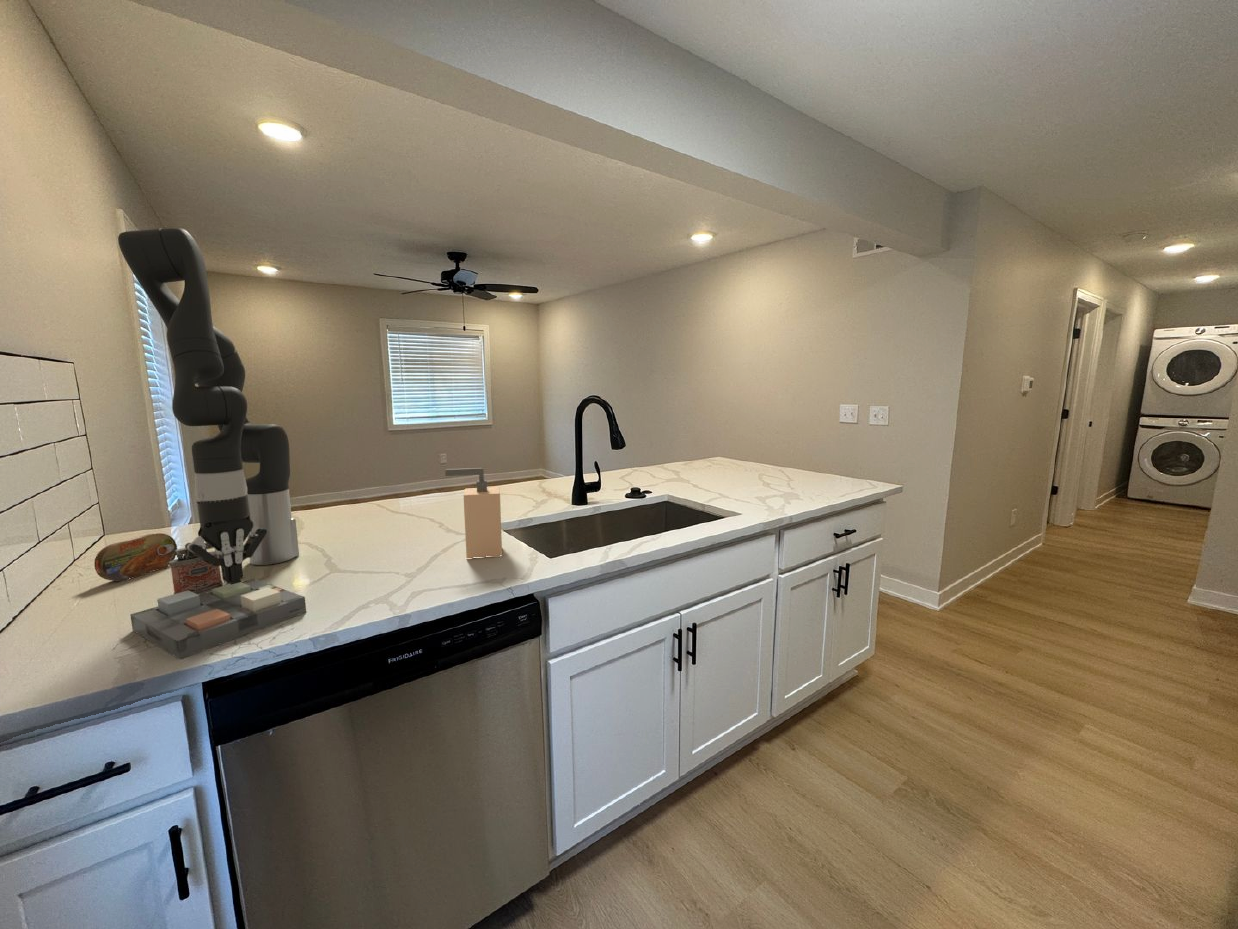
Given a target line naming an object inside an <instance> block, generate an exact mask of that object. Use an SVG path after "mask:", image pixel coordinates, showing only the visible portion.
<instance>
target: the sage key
mask: <svg viewBox="0 0 1238 929" xmlns="http://www.w3.org/2000/svg"><path fill="white" fill-rule="evenodd" d="M242 582H243V581H241V582H239V583H236V584H232V585H231V584H228V583H227V584H226V585H223V586H221V587H218V588H215V589H212V591H213V595H214V596H216V597H219V598H221V599H225V598H228V597H231V596H235V595H238V594H241V593H244V592H248V591H251V588H250V586H249V585H247V584H244V583H242Z"/></svg>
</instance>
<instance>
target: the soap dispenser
mask: <svg viewBox="0 0 1238 929" xmlns="http://www.w3.org/2000/svg"><path fill="white" fill-rule="evenodd" d="M444 472H445V477H454V476H455V477H456V476H458V477H459V476H477V475H478V479H477V480H476V482H475V483H476V487H475V488H474V487H470V488H469V487H468V488H464V492H463V509H464V512H463V514H464V515H463V516H464V535H465V537H464V538H465V555H466V558H473V557H486V556H500V555H502V556H503V542H502V539H503V538H502V537H503V536H502V516H501V514H502V511H501V510H502V509H501V491H500V487H499V486H493V487H488V482H487V481H488V480H487V479H485V478H484V476H485V473H484V467H474V468H473V467H470V468H446V469H445V471H444Z"/></svg>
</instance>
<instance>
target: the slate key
mask: <svg viewBox="0 0 1238 929" xmlns="http://www.w3.org/2000/svg"><path fill="white" fill-rule="evenodd" d="M156 601H157V605H158V607H159V612H161V613H163V614H164V615H166V616H169V615H173V614H176V613H179V612H182V611H186V610H189V609H192V608H196V607H199V606H201V605H200V598H199V594H195V593H193V592H191V591H189V590H187V591H184V592H180V593H177V594H171V595H166V596H163V597H159V598H157V600H156Z"/></svg>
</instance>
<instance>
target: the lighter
mask: <svg viewBox="0 0 1238 929" xmlns="http://www.w3.org/2000/svg"><path fill="white" fill-rule="evenodd" d="M204 544H205V545H206V548H205V549H204V550H206V551H207V550H209V549H214V548H213V547H212V546H210V545H209V544H208V543H207V542H204ZM175 552H176V557H177V558H176V559H175V558H174V560H172V561H169V565H168V566H169V567H170V571H171V577H172V584H173V591H174V592H173V594H177V593H180V592H184V591H187V590H189V591H191V592H193V593H195V594H198V595H199V594H202V593H206V592H209V591H212V589H215V588H218V587H221V586H224V584H223V582H224V581H223V580H222V573H221V566H214V565H211V564H208V563H207V562H205V561H204V560H202V559H201V558H199V557H198V556H196V555H195V554H193V553H192V552H190V551H189V550H187V549H186V548H185V547H182V548H177V550H175ZM207 552H209V553H210V554H212V555H213V556H214V557H216V558H218V556H217V554H216V552H215V550H214V551H213V550H212V551H207ZM173 594H172V595H173Z"/></svg>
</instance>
